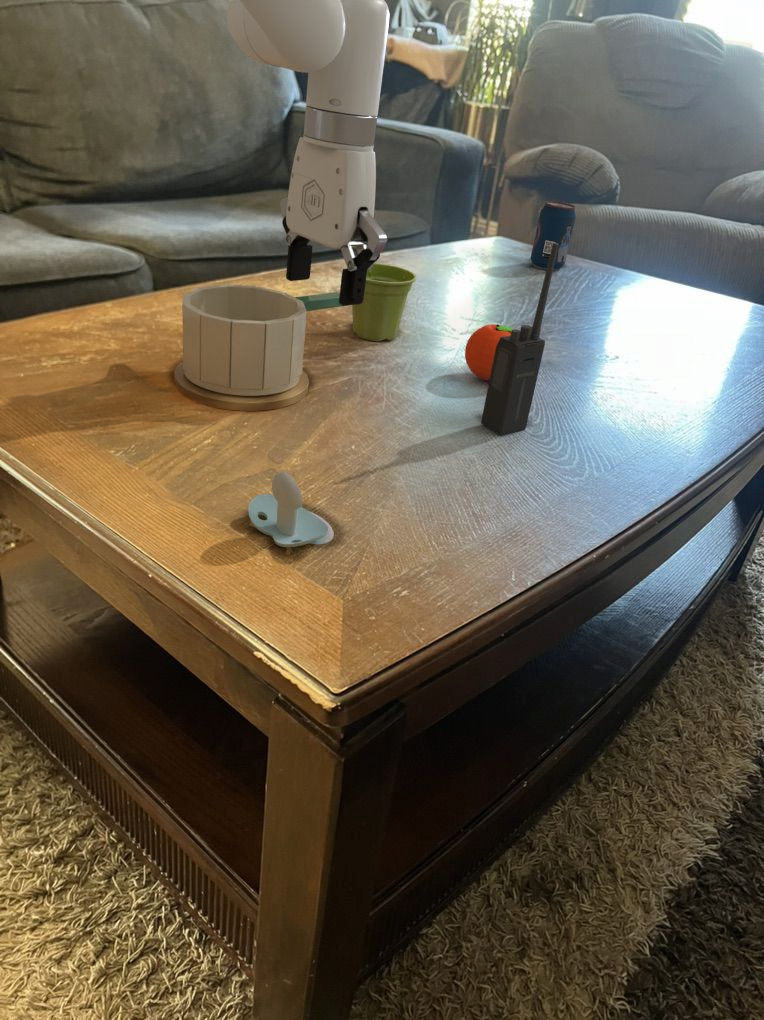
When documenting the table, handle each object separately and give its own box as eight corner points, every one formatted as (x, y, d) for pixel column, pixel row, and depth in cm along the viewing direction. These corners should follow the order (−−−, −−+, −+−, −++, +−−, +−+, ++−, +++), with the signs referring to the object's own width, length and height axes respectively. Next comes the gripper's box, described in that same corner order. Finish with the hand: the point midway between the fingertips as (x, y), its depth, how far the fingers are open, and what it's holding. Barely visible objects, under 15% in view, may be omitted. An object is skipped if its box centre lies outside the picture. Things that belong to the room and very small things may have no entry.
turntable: (222, 422, 79) (223, 413, 79) (149, 371, 88) (148, 362, 88) (335, 394, 89) (335, 386, 88) (258, 351, 97) (258, 343, 97)
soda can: (531, 260, 160) (545, 198, 154) (565, 266, 159) (580, 205, 152) (526, 266, 154) (540, 203, 148) (561, 273, 153) (576, 210, 147)
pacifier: (294, 507, 67) (237, 526, 63) (301, 442, 64) (242, 458, 60) (351, 546, 63) (294, 570, 59) (361, 479, 60) (302, 499, 56)
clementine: (518, 372, 102) (529, 320, 99) (526, 393, 96) (539, 338, 93) (458, 365, 102) (467, 312, 98) (462, 386, 96) (473, 330, 92)
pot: (369, 373, 92) (377, 307, 88) (224, 404, 80) (225, 329, 76) (303, 337, 100) (308, 275, 96) (161, 361, 88) (159, 290, 83)
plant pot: (332, 338, 105) (338, 273, 100) (351, 319, 113) (357, 258, 108) (399, 351, 104) (408, 287, 99) (413, 331, 112) (422, 270, 107)
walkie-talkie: (506, 416, 89) (546, 238, 79) (527, 428, 87) (571, 246, 77) (476, 423, 87) (514, 239, 76) (497, 436, 85) (539, 248, 74)
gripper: (262, 115, 84) (253, 273, 93) (368, 144, 74) (347, 318, 83) (316, 119, 89) (303, 269, 98) (422, 146, 79) (397, 311, 88)
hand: (323, 291), depth 91 cm, fingers open, 9 cm apart
